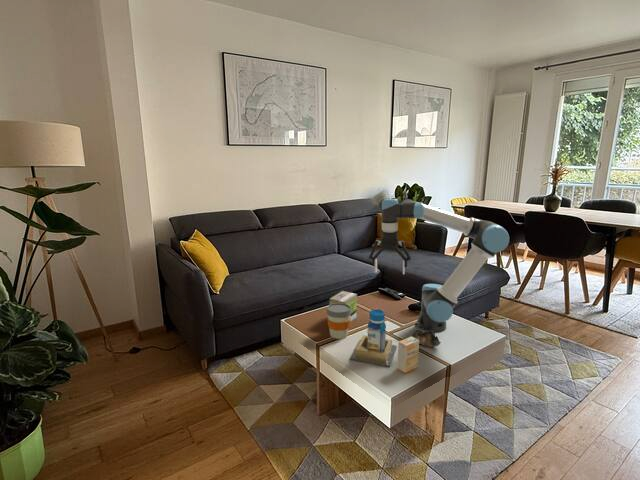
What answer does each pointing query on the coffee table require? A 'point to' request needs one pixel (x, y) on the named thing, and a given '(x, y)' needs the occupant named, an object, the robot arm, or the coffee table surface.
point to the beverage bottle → (376, 331)
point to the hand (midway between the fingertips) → (389, 273)
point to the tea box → (346, 301)
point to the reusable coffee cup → (339, 320)
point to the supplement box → (408, 354)
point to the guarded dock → (374, 353)
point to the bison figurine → (426, 338)
